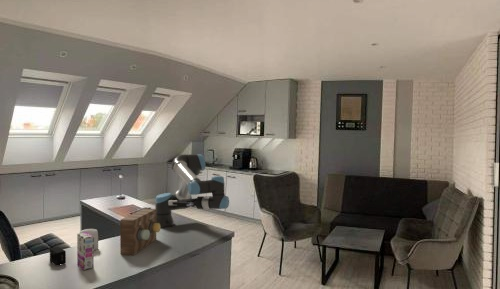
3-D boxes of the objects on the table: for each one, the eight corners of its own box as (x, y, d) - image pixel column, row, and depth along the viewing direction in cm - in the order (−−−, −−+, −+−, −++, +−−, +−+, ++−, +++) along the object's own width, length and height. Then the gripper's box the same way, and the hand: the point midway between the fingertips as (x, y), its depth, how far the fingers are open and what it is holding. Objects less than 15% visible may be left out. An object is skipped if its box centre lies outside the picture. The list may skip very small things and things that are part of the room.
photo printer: (78, 251, 184) (78, 230, 184) (80, 249, 189) (80, 228, 188) (97, 250, 187) (97, 229, 186) (99, 247, 191) (98, 227, 191)
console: (145, 238, 208) (144, 208, 208) (158, 239, 206) (158, 209, 206) (120, 254, 181) (120, 219, 180) (135, 255, 179) (135, 220, 178)
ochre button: (156, 230, 202) (156, 221, 202) (160, 230, 202) (160, 222, 201) (151, 233, 197) (151, 224, 196) (156, 233, 196) (156, 224, 196)
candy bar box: (94, 267, 162) (94, 236, 162) (83, 270, 159) (83, 238, 158) (87, 261, 170) (86, 231, 170) (76, 264, 167) (76, 233, 166)
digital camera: (47, 261, 170) (47, 248, 170) (58, 258, 174) (58, 246, 174) (54, 267, 163) (54, 253, 163) (65, 263, 168) (65, 250, 167)
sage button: (145, 237, 188) (145, 228, 188) (149, 237, 188) (149, 228, 188) (140, 240, 183) (140, 231, 183) (145, 241, 182) (145, 231, 182)
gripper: (200, 211, 187) (164, 211, 193) (208, 205, 199) (174, 205, 205) (199, 199, 186) (163, 199, 192) (207, 194, 199) (173, 194, 205)
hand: (169, 202), depth 199 cm, fingers closed
